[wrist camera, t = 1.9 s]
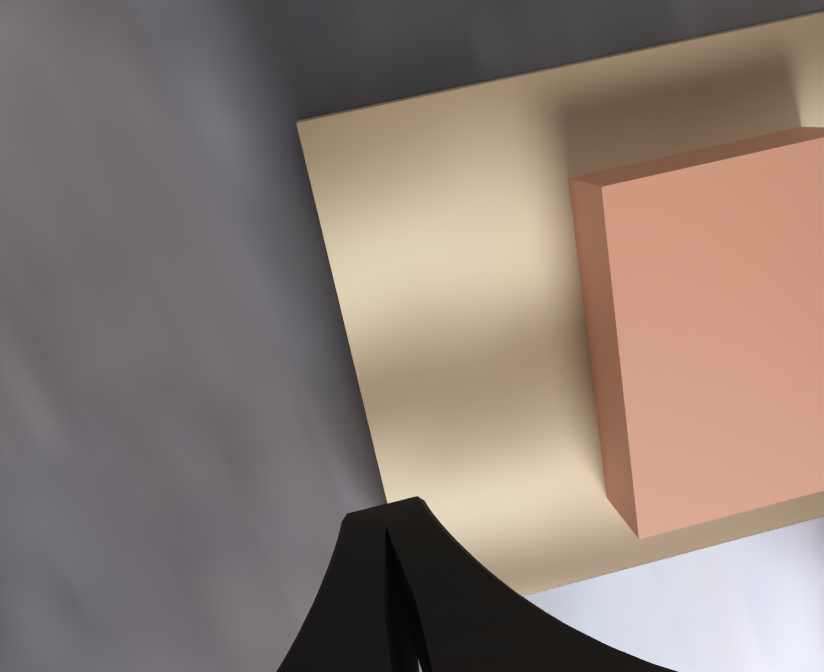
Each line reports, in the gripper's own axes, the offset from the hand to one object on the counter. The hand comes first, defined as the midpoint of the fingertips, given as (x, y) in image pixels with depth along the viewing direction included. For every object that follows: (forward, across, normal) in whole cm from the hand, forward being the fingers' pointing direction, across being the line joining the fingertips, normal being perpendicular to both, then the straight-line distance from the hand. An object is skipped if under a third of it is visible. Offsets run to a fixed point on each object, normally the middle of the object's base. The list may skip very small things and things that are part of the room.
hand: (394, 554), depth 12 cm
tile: (+6, -9, 0) cm, 11 cm away
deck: (+10, -8, 0) cm, 13 cm away
